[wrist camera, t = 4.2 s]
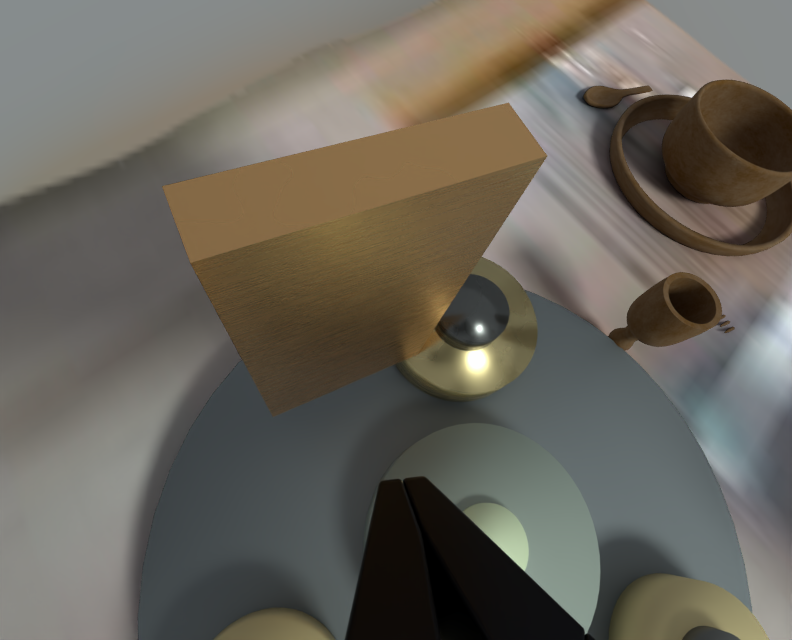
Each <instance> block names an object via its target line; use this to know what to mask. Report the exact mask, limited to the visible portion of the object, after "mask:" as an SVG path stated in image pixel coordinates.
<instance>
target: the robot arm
mask: <svg viewBox="0 0 792 640" xmlns="http://www.w3.org/2000/svg"><path fill="white" fill-rule="evenodd" d="M345 640H596V639H595V638H594V637H593V636H592V635H591V634H589V633H586V634H585V630H584V628H583V627H582V626H581V625H580V624H579V623H578V622H577V621H576V620H575V619H574V618H573V617H572V616H571V615H570V614H568V613H567V612H566V611H565V610H564V609H563V608H562V607H561V606H560V605H559V604H558V603H557V602H556V601H555V600H554V599H553V598H552V597H551V596H550V595H549V594H548V593H547V592H546V591H545V590H543V589H542V588H541V587H540V586H539V585H538V584H537V583H536V582H535V581H534V580H533V579H532V578H531V577H530V576H529V575H528V574H527V573H526V572H525V571H524V570H523V569H522V568H521V567H520V566H518V565H517V564H516V563H515V562H514V561H513V560H512V559H511V558H510V557H509V556H508V555H507V554H506V553H505V552H504V551H503V550H502V549H501V548H500V547H499V546H498V545H497V544H496V543H495V542H494V541H492V540H491V539H490V538H489V537H488V536H487V535H486V534H485V533H484V532H483V531H482V530H481V529H480V528H479V527H478V526H477V525H476V524H475V523H474V522H473V521H472V520H471V519H470V518H469V517H467V516H466V515H465V514H464V513H463V512H462V511H461V510H460V509H459V508H458V507H457V506H456V505H455V504H454V503H453V502H452V501H451V500H450V499H449V498H448V497H447V496H446V495H445V494H444V493H442V492H441V491H440V490H439V489H438V488H437V487H436V486H435V485H434V484H433V483H432V482H431V481H430V480H429V479H428V478H427V477H425V476H417V477H408V478H405V479H404V480H403V481H402V480H401V479H390V480H382V481H380V482H379V485H378V489H377V494H376V498H375V503H374V507H373V512H372V517H371V521H370V526H369V530H368V535H367V539H366V544H365V549H364V553H363V558H362V562H361V567H360V571H359V576H358V581H357V585H356V590H355V594H354V599H353V603H352V608H351V613H350V617H349V622H348V626H347V631H346V635H345Z"/></svg>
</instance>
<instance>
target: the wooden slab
mask: <svg viewBox="0 0 792 640" xmlns="http://www.w3.org/2000/svg"><path fill="white" fill-rule="evenodd" d="M546 157H547V155H546V153H545V152H544V151H543V149H542V148H541V147H540V145H539V144H538V142H537V141H536V140H535V138H534V137H533V136H532V134H531V133H530V131H529V130H528V129H527V127H526V126H525V125H524V123H523V122H522V120H521V119H520V118H519V116H518V115H517V114H516V112H515V111H514V110H513V108H512V107H511V105H510V104H509V103H506V104H501V105H497V106H493V107H489V108H485V109H481V110H477V111H472V112H468V113H464V114H460V115H456V116H452V117H447V118H443V119H439V120H435V121H431V122H427V123H423V124H418V125H414V126H410V127H406V128H402V129H398V130H393V131H389V132H385V133H381V134H377V135H373V136H369V137H364V138H360V139H356V140H352V141H348V142H344V143H339V144H335V145H331V146H327V147H323V148H319V149H315V150H310V151H306V152H302V153H298V154H294V155H290V156H286V157H281V158H277V159H273V160H269V161H265V162H261V163H256V164H252V165H248V166H244V167H240V168H236V169H232V170H227V171H223V172H219V173H215V174H211V175H207V176H202V177H198V178H194V179H190V180H186V181H182V182H178V183H173V184H169V185H165V186H162V188H163V190H164V193H165V196H166V198H167V201H168V204H169V207H170V209H171V212H172V215H173V217H174V220H175V223H176V226H177V228H178V231H179V234H180V236H181V239H182V242H183V245H184V247H185V250H186V253H187V255H188V258H189V261H190V263H191V265H192V267H193V269H194V271H195V273H196V275H197V276H198V278H199V280H200V282H201V284H202V286H203V288H204V289H205V291H206V293H207V295H208V297H209V299H210V301H211V303H212V304H213V306H214V308H215V310H216V312H217V314H218V316H219V317H220V319H221V321H222V323H223V325H224V327H225V329H226V330H227V332H228V334H229V336H230V338H231V340H232V342H233V344H234V345H235V347H236V349H237V351H238V353H239V355H240V357H241V358H242V360H243V362H244V364H245V366H246V368H247V370H248V372H249V373H250V375H251V377H252V379H253V381H254V383H255V385H256V386H257V388H258V390H259V392H260V394H261V396H262V398H263V399H264V401H265V403H266V405H267V407H268V409H269V411H270V413H271V414H272V416H273V417H274V416H277V415H279V414H281V413H284V412H286V411H288V410H291V409H293V408H295V407H297V406H300V405H302V404H304V403H307V402H309V401H311V400H314V399H316V398H318V397H321V396H323V395H325V394H328V393H330V392H332V391H334V390H337V389H339V388H341V387H344V386H346V385H348V384H351V383H353V382H355V381H358V380H360V379H362V378H365V377H367V376H369V375H372V374H374V373H376V372H378V371H381V370H383V369H385V368H388V367H390V366H392V365H395V366H396V367H397V369H398V370H399V371H400V373H401V374H402V375H403V376H404V377H405V378H406V379H407V380H408V381H409V382H410V383H411V384H412V385H414V386H415V387H416V388H417V389H419V390H421V391H422V392H424V393H426V394H428V395H430V396H432V397H435V398H438V399H441V400H445V401H451V402H470V401H475V400H479V399H482V398H485V397H487V396H489V395H491V394H493V393H495V392H496V391H498V390H499V389H501V388H503V387H504V386H506V385H507V384H509V383H510V382H512V381H513V380H515V379H516V378H517V377H518V376H519V375H520V374H521V373H522V372H523V371H524V370H525V369H526V367H527V366H528V364H529V363H530V361H531V359H532V357H533V354H534V351H535V348H536V344H537V336H538V327H537V320H536V315H535V312H534V308H533V306H532V303H531V301H530V299H529V297H528V295H527V294H526V292H525V291H524V289H523V288H522V286H521V285H520V284H519V283H518V282H517V280H516V279H515V278H514V277H513V276H512V275H511V274H509V273H508V272H507V271H506V270H505V269H503V268H502V267H500V266H499V265H497V264H495V263H494V262H492V261H490V260H488V259H485V258H483V257H482V255H483V253H484V252H485V250H486V249H487V247H488V246H489V244H490V243H491V241H492V240H493V238H494V237H495V235H496V234H497V232H498V231H499V229H500V228H501V226H502V224H503V223H504V221H505V220H506V218H507V217H508V215H509V214H510V212H511V211H512V209H513V208H514V206H515V205H516V203H517V202H518V200H519V199H520V197H521V195H522V194H523V192H524V191H525V189H526V188H527V186H528V185H529V183H530V182H531V180H532V179H533V177H534V176H535V174H536V173H537V171H538V170H539V168H540V166H541V165H542V163H543V162H544V160H545V159H546Z"/></svg>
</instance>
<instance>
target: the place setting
mask: <svg viewBox="0 0 792 640" xmlns="http://www.w3.org/2000/svg"><path fill="white" fill-rule="evenodd" d="M650 91H653V90H652V89H651V88H650V86H642V87H637V88H631V89H622V90H619V89H612V88H609V87H604V86H594V87H591V88H589V89H588V90H587V91H586V92H585V94H584V99H585V101H586V102H587V103H588V104H589V105H591V106H593V107H598V108H610V107H613V106H615V105H617V104H618V103H619V102H620V101H621V99H622V98H623V97H625V96H628V95H633V94H640V93H646V92H650ZM654 119H667V120H673V121H672V122H671V123H670V125H669V126H668V128H667V130H666V132H665V134H664V137H663V142H662V155H663V159H664V163H665V172H666V175H667V178H668V180H669V181H670V183H671V184H672V186H673V187H674V188H675V189H676V190H677V191H678V192H679V193H680V194H682V195H683V196H685V197H686V198H688V199H690V200H692V201H695V202H698V203H703V204H714V205H718V206H725V207H736V206H744V205H748V204H751V203H754V202H756V201H759V200H761V199H763V198H765V199H766V205H767V217H766V221H765V225H764V227H763V229H762V231H761V232H760V233H759V235H758V236H757V237H755V238H754V239H753V240H752V241H750V242H748V243H746V244H743V245H737V244H729V243H725V242H721V241H717V240H714V239H711V238H709V237H706V236H704V235H701V234H699V233H697V232H695V231H693V230H691V229H689V228H687V227H686V226H684V225H682V224H681V223H679V222H678V221H676V220H675V219H673V218H672V217H670V216H669V215H668V214H667V213H666V212H664V211H663V210H662V209H661V208H659V207H658V206H657V205H656V204H655V203H654V202H653V201H652V200H651V199H650V198H649V197H648V195H647V194H646V193H645V192H644V191H643V189H642V188H641V187H640V185H639V184H638V183H637V181H636V180H635V178H634V176H633V175H632V173H631V171H630V169H629V167H628V165H627V162H626V160H625V157H624V153H623V149H622V138H623V136H624V135H625V133H626V132H627V131H628V130H629V129H630V128H632V127H633V126H635V125H637V124H638V123H641V122H644V121H648V120H654ZM610 160H611V165H612V169H613V173H614V175H615V178H616V181H617V183H618V185H619V187H620V189H621V190H622V192H623V194H624V195H625V197H626V198H627V200H628V201H629V202H630V204H631V205H632V206H633V207H634V208H635V210H636V211H637V212H638V213H639V214H640V215H641V216H642V217H643V218H644V219H645V220H646V221H648V222H649V223H650V224H651V225H652V226H654V227H655V228H656V229H658V230H659V231H660V232H662V233H663V234H665V235H666V236H668V237H670V238H671V239H673V240H675V241H677V242H679V243H681V244H683V245H685V246H687V247H690V248H693V249H695V250H698V251H701V252H706V253H710V254H714V255H723V256H743V255H749V254H755V253H758V252H761V251H764V250H767V249H769V248H771V247H773V246H775V245H777V244H778V243H780V242H782V241H784V240H785V239H786V238H787V237H788V236H789V235H790V234H791V232H792V110H791V109H790V108H789V107H788V106H787V105H786V104H784V103H783V102H782V101H780V100H779V99H778V98H776V97H775V96H773V95H771V94H770V93H768V92H766V91H764V90H762V89H760V88H758V87H756V86H754V85H751V84H748V83H745V82H741V81H736V80H717V81H712V82H709V83H707V84H705V85H704V86H703V87H702V88H700V90H699V91H698V92H697V93H696V94H695V95H694V96H693V97H692V98H690V97H685V96H679V95H656V96H650V97H647V98H644V99H641V100H639V101H637V102H635V103H634V104H633V105H631V106H630V107H629V108H628V109H627V110H626V111H625V112H624V114H623V115H622V116H621V118H620V119H619V121H618V123H617V124H616V126H615V128H614V131H613V134H612V138H611V143H610ZM721 315H722V307H721V303H720V300H719V298H718V296H717V294H716V293H715V291H714V290H713V289H712V288H711V286H710V285H709V284H707V283H706V282H705V281H704V280H702V279H701V278H699V277H697V276H695V275H693V274H690V273H684V272H679V273H675V274H672V275H670V276H669V277H667V278H665V279H663V280H662V281H660V282H659V283H657V284H656V285H654V286H653V287H651V288H650V289H648V290H647V291H646V292H644V293H643V294H642V295H641V296H639V297H638V298H637V299H636V300H635V301H634V302H633V303H632V305H631V306H630V308H629V310H628V313H627V324H628V326H627V327H626V328H618V329H615V330H613V331H612V332H611V333H610V334H609V336H608V337H609V338H610V339H612V340H613V341H614V342H615V344H616V345H617V346H618V347H620V348H622V349H623V350H624V351H625V350H628V349H629V348H630V347H631V346H632V345H633V343H634V342H635V341H637V340H639V341H641V342H642V343H644V344H647V345H650V346H656V347H662V346H669V345H673V344H676V343H679V342H682V341H684V340H687V339H689V338H692V337H694V336H696V335H699V334H701V333H703V332H705V331H707V330H709V329H711V328H713V327H714V326H716V325H717V324H718V323H719V321H720V319H723V318H724V317H725V315H722V316H721ZM729 323H730V321H726V322H724V323H723V324H721V325H720V327H722V326H725V325H727V324H729ZM734 328H735V327H731V328H729V329H727V330H726V331H725V333H727V332H730V331H732V330H734Z"/></svg>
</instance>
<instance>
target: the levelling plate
mask: <svg viewBox="0 0 792 640" xmlns="http://www.w3.org/2000/svg"><path fill="white" fill-rule="evenodd" d="M524 291H525V292H526V294H527V295H528V297H529V299H530V301H531V303H532V306H533V308H534V312H535V315H536V320H537V327H538V336H537V344H536V348H535V351H534V354H533V357H532V359H531V361H530V363H529V364H528V366H527V367H526V369H525V370H524V371H523V372H522V373H521V374H520V375H519V376H518V377H517V378H516V379H515V380H513V381H512V382H510V383H509V384H507V385H506V386H504V387H503V388H501V389H499V390H498V391H496V392H495V393H493V394H491V395H489V396H487V397H485V398H482V399H479V400H475V401H470V402H451V401H445V400H441V399H438V398H435V397H432V396H430V395H428V394H426V393H424V392H422V391H421V390H419V389H417V388H416V387H415V386H414V385H412V384H411V383H410V382H409V381H408V380H407V379H406V378H405V377H404V376H403V375H402V374H401V373H400V371H399V370H398V369H397V367H396V366H395V365H392V366H390V367H388V368H385V369H383V370H381V371H378V372H376V373H374V374H372V375H369V376H367V377H365V378H362V379H360V380H358V381H355V382H353V383H351V384H348V385H346V386H344V387H341V388H339V389H337V390H334V391H332V392H330V393H328V394H325V395H323V396H321V397H318V398H316V399H314V400H311V401H309V402H307V403H304V404H302V405H300V406H297V407H295V408H293V409H291V410H288V411H286V412H284V413H281V414H279V415H277V416H274V417H273V416H272V414H271V413H270V411H269V409H268V407H267V405H266V403H265V401H264V399H263V398H262V396H261V394H260V392H259V390H258V388H257V386H256V385H255V383H254V381H253V379H252V377H251V375H250V373H249V372H248V370H247V368H246V366H245V364H244V362H243V360H241V361H240V362H239V363H238V364H237V365H236V366H235V368H234V369H233V370H232V371H231V372H230V374H229V375H228V376H227V377H226V378H225V380H224V381H223V382H222V383H221V385H220V386H219V387H218V388H217V389H216V391H215V392H214V393H213V394H212V396H211V397H210V399H209V400H208V402H207V404H206V405H205V407H204V408H203V410H202V411H201V413H200V414H199V416H198V417H197V419H196V421H195V422H194V424H193V425H192V427H191V428H190V430H189V432H188V434H187V436H186V438H185V440H184V442H183V444H182V446H181V448H180V450H179V452H178V455H177V457H176V459H175V461H174V463H173V465H172V467H171V469H170V471H169V474H168V477H167V480H166V483H165V486H164V488H163V491H162V494H161V497H160V500H159V503H158V506H157V508H156V511H155V514H154V518H153V523H152V527H151V532H150V536H149V541H148V545H147V550H146V554H145V559H144V563H143V571H142V581H141V592H140V602H139V612H138V640H345V635H346V631H347V626H348V622H349V617H350V613H351V608H352V603H353V599H354V594H355V590H356V585H357V581H358V576H359V571H360V567H361V562H362V558H363V553H364V549H365V544H366V539H367V535H368V530H369V526H370V521H371V517H372V512H373V507H374V503H375V498H376V494H377V489H378V485H379V482H380V481H382V480H390V479H401V480H402V481H403V480H404V479H405V478H408V477H417V476H425V477H427V478H428V479H429V480H430V481H431V482H432V483H433V484H434V485H435V486H436V487H437V488H438V489H439V490H440V491H441V492H442V493H444V494H445V495H446V496H447V497H448V498H449V499H450V500H451V501H452V502H453V503H454V504H455V505H456V506H457V507H458V508H459V509H460V510H461V511H462V512H463V513H464V514H465V515H466V516H467V517H469V518H470V519H471V520H472V521H473V522H474V523H475V524H476V525H477V526H478V527H479V528H480V529H481V530H482V531H483V532H484V533H485V534H486V535H487V536H488V537H489V538H490V539H491V540H492V541H494V542H495V543H496V544H497V545H498V546H499V547H500V548H501V549H502V550H503V551H504V552H505V553H506V554H507V555H508V556H509V557H510V558H511V559H512V560H513V561H514V562H515V563H516V564H517V565H518V566H520V567H521V568H522V569H523V570H524V571H525V572H526V573H527V574H528V575H529V576H530V577H531V578H532V579H533V580H534V581H535V582H536V583H537V584H538V585H539V586H540V587H541V588H542V589H543V590H545V591H546V592H547V593H548V594H549V595H550V596H551V597H552V598H553V599H554V600H555V601H556V602H557V603H558V604H559V605H560V606H561V607H562V608H563V609H564V610H565V611H566V612H567V613H568V614H570V615H571V616H572V617H573V618H574V619H575V620H576V621H577V622H578V623H579V624H580V625H581V626H582V627H583V628H584V630H585V634H586V633H589V634H591V635H592V636H593V637H594V638H595V639H596V640H769V638H768V637H767V635H766V633H765V631H764V630H763V628H762V626H761V625H760V623H759V622H758V621H757V619H756V618H755V616H754V615H753V614H752V606H751V600H750V594H749V588H748V582H747V576H746V570H745V564H744V560H743V557H742V553H741V549H740V546H739V542H738V538H737V534H736V531H735V527H734V523H733V521H732V518H731V515H730V513H729V510H728V507H727V504H726V502H725V499H724V496H723V494H722V491H721V488H720V486H719V484H718V482H717V479H716V477H715V475H714V473H713V471H712V469H711V467H710V465H709V463H708V461H707V459H706V457H705V455H704V452H703V450H702V449H701V447H700V445H699V444H698V442H697V441H696V439H695V437H694V436H693V434H692V432H691V431H690V429H689V427H688V426H687V424H686V422H685V421H684V419H683V418H682V416H681V415H680V413H679V412H678V411H677V409H676V408H675V407H674V405H673V404H672V403H671V401H670V400H669V399H668V397H667V396H666V395H665V393H664V392H663V390H662V389H661V388H660V387H659V386H658V385H657V384H656V383H655V381H654V380H653V379H652V378H651V377H650V376H649V375H648V374H647V373H646V371H645V370H644V369H643V368H642V367H641V366H640V365H639V364H638V363H637V362H636V361H635V360H634V359H633V358H632V357H631V356H630V355H628V354H627V353H626V352H625V351H624V350H623V349H622V348H620V347H618V346H617V345H616V344H615V342H614V341H613V340H612V339H610V338H609V337H608V336H606V335H605V334H604V333H602V332H601V331H600V330H598V329H597V328H596V327H594V326H593V325H592V324H590V323H589V322H587V321H586V320H584V319H582V318H581V317H579V316H577V315H576V314H574V313H572V312H571V311H569V310H567V309H566V308H564V307H562V306H560V305H558V304H556V303H554V302H552V301H549V300H547V299H545V298H543V297H541V296H539V295H537V294H534V293H532V292H529V291H526V290H524Z"/></svg>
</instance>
